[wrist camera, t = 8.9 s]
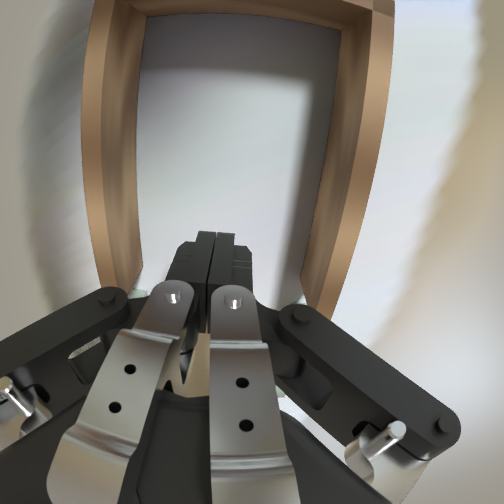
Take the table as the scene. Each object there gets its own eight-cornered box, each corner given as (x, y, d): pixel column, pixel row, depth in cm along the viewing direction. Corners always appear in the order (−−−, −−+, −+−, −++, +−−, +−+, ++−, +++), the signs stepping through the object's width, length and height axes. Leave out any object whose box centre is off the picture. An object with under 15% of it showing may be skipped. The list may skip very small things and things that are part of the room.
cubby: (132, 5, 9) (100, -18, 5) (360, 21, 10) (394, 0, 6) (128, 264, 17) (105, 304, 13) (314, 279, 17) (329, 322, 14)
